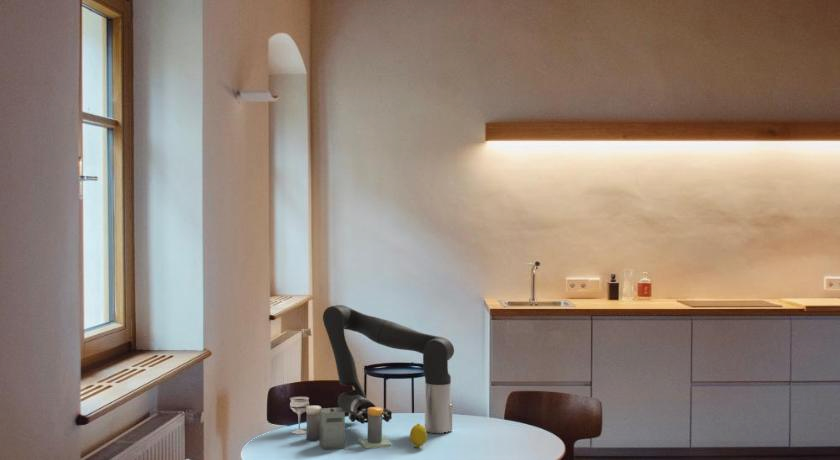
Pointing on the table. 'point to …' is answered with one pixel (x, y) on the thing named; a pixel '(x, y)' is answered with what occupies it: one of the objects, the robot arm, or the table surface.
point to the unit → (332, 428)
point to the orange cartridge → (375, 424)
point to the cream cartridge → (313, 423)
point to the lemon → (418, 435)
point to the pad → (373, 445)
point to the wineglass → (299, 409)
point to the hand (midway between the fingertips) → (375, 419)
